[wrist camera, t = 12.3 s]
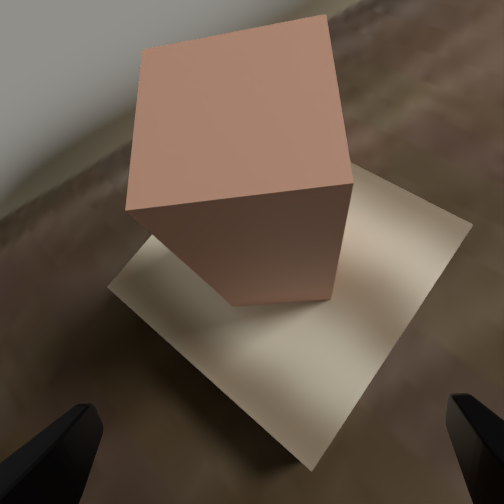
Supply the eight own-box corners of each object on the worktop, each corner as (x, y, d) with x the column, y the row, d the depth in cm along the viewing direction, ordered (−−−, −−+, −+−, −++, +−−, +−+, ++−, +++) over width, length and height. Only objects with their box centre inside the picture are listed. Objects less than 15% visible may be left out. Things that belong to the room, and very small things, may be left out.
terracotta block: (331, 299, 17) (353, 182, 7) (233, 306, 18) (125, 210, 8) (320, 210, 19) (325, 14, 9) (231, 220, 20) (142, 49, 9)
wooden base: (312, 457, 18) (311, 471, 15) (132, 298, 22) (106, 287, 20) (451, 246, 20) (473, 224, 17) (262, 144, 25) (256, 114, 22)
